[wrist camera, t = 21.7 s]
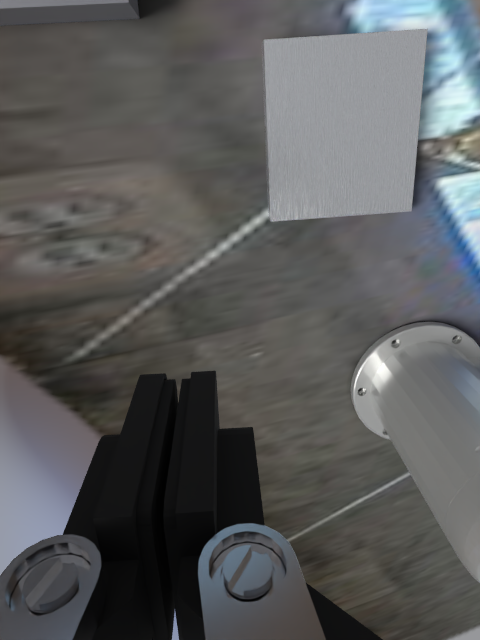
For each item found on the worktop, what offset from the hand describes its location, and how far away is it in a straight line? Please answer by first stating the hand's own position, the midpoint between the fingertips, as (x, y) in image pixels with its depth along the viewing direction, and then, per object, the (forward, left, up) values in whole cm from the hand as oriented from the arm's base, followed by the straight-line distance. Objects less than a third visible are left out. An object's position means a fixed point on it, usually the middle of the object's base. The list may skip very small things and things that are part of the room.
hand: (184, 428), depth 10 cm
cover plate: (-5, -6, -27) cm, 28 cm away
